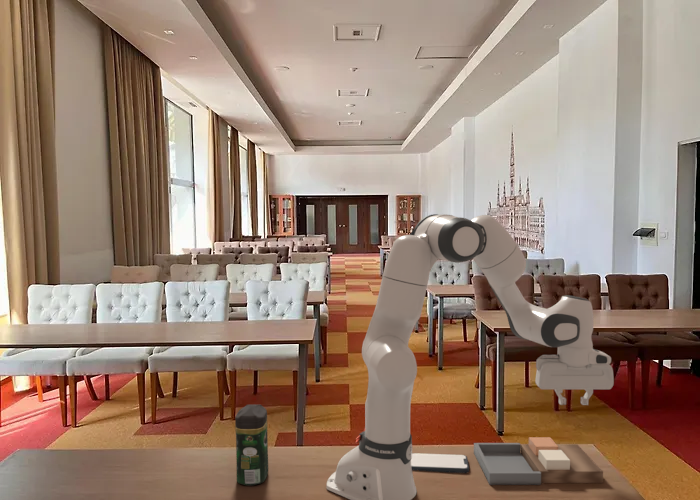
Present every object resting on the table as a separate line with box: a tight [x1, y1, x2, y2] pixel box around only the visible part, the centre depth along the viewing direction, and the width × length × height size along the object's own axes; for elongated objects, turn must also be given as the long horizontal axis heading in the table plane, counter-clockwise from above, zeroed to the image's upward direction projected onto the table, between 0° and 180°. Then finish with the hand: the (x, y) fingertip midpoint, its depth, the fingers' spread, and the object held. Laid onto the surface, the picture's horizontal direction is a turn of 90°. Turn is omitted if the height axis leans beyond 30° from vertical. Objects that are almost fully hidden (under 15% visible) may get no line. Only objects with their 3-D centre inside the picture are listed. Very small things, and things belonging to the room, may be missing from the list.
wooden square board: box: [520, 443, 604, 484], centre depth 146 cm, size 16×16×3 cm
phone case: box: [411, 452, 470, 474], centre depth 149 cm, size 9×2×16 cm
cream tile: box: [538, 450, 570, 470], centre depth 142 cm, size 6×6×2 cm
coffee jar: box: [234, 404, 269, 487], centre depth 141 cm, size 10×8×19 cm
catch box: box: [473, 442, 542, 486], centre depth 146 cm, size 13×18×3 cm
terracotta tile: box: [528, 436, 558, 456], centre depth 150 cm, size 6×6×2 cm
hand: (573, 404), depth 149 cm, fingers open, 5 cm apart
